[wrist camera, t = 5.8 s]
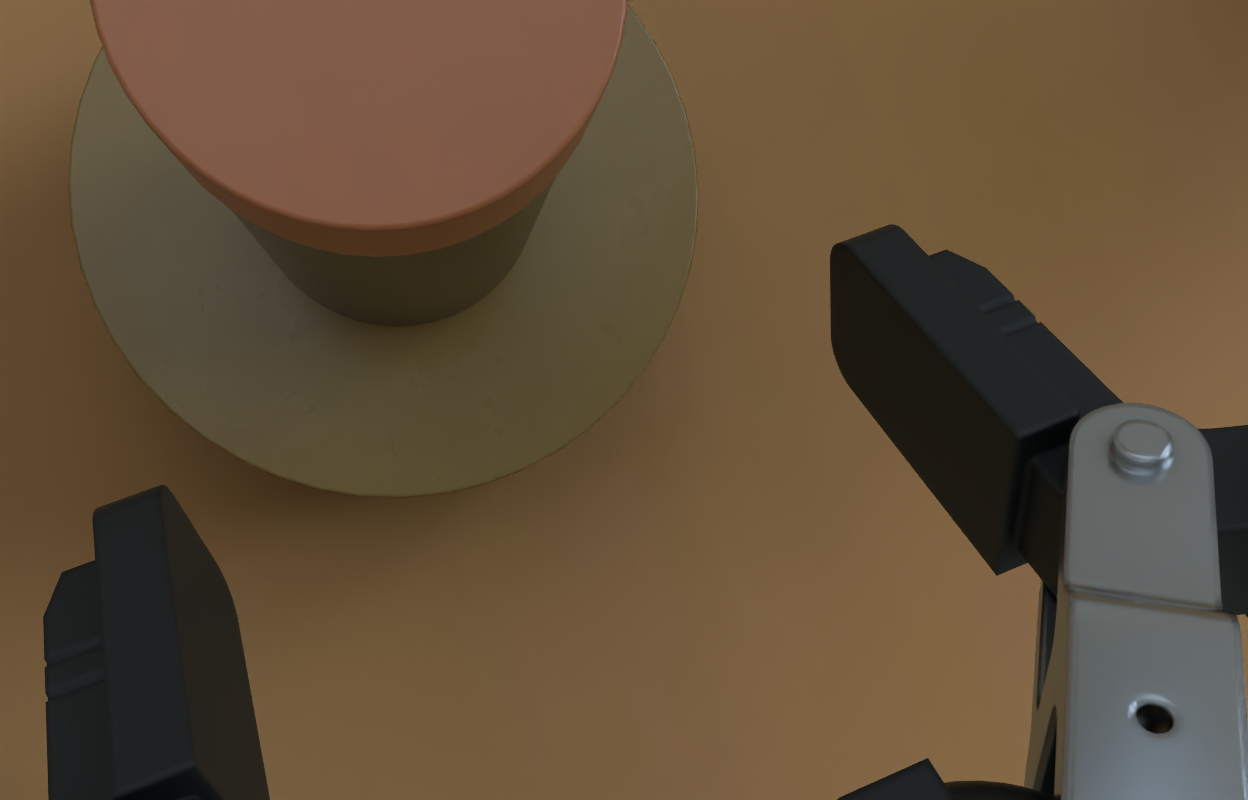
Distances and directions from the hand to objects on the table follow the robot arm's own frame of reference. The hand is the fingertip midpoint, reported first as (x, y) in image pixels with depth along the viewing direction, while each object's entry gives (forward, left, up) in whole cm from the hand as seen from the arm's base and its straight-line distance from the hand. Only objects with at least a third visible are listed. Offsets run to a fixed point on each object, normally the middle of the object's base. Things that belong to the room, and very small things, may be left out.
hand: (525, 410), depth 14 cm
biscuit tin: (0, -5, -16) cm, 17 cm away
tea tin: (0, -5, -10) cm, 11 cm away
